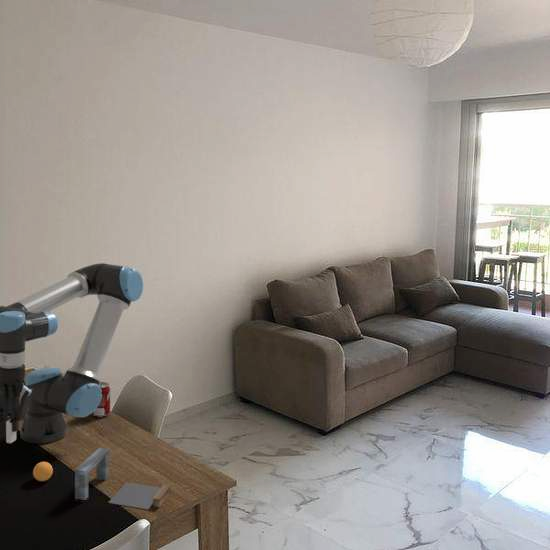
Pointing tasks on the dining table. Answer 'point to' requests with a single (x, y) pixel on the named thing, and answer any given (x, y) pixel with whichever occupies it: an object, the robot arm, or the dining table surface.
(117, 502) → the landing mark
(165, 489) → the stopper wall
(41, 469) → the ball
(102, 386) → the soda can
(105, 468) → the bridge
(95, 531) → the dining table surface
